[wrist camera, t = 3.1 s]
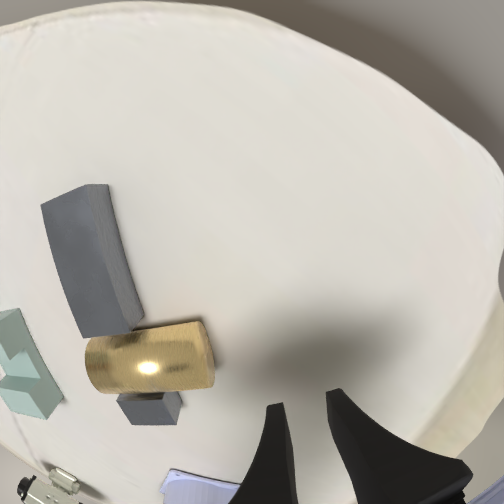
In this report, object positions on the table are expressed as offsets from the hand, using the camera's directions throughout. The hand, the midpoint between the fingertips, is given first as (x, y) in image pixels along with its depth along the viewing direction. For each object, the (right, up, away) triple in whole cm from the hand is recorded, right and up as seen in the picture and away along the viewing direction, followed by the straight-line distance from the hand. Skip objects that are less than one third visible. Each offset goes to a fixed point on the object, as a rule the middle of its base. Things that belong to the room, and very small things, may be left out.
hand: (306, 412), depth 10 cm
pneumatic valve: (-32, -29, +14) cm, 46 cm away
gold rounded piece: (-9, 0, +6) cm, 11 cm away
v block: (-26, -4, +9) cm, 28 cm away
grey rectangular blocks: (-12, +2, +8) cm, 14 cm away
